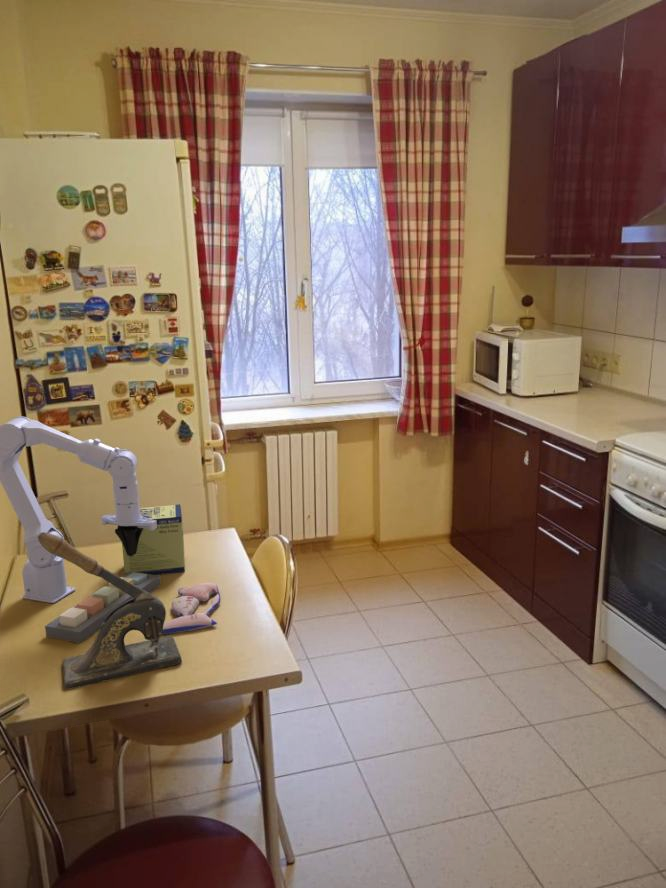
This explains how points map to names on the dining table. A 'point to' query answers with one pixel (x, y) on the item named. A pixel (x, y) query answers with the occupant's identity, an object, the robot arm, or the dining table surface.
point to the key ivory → (73, 617)
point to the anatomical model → (192, 608)
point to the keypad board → (96, 615)
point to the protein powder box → (159, 543)
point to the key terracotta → (91, 605)
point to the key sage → (107, 594)
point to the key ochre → (120, 589)
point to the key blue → (137, 577)
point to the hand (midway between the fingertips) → (131, 554)
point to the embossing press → (116, 629)
